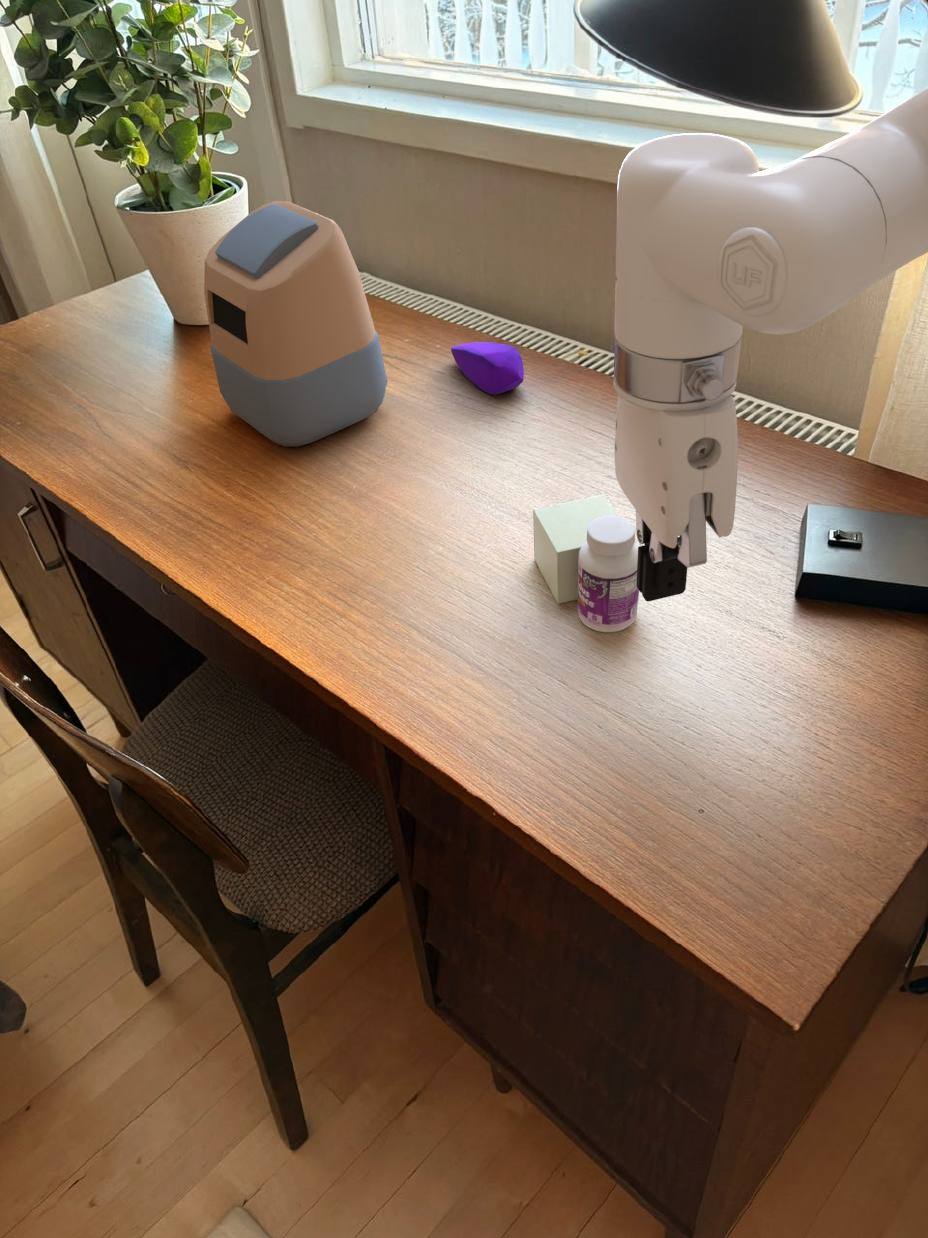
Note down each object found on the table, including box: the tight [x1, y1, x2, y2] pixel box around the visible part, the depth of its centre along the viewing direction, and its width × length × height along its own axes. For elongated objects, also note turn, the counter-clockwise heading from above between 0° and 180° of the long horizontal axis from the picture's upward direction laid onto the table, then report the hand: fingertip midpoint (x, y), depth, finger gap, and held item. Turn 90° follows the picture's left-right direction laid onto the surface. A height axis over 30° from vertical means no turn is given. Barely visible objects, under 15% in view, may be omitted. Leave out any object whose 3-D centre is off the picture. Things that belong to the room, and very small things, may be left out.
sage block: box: [532, 493, 619, 605], centre depth 87 cm, size 7×7×6 cm
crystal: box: [450, 341, 525, 396], centre depth 118 cm, size 5×5×15 cm
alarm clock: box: [203, 200, 388, 447], centre depth 108 cm, size 17×17×23 cm
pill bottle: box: [577, 515, 640, 633], centre depth 82 cm, size 5×5×10 cm
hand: (660, 590), depth 70 cm, fingers closed
